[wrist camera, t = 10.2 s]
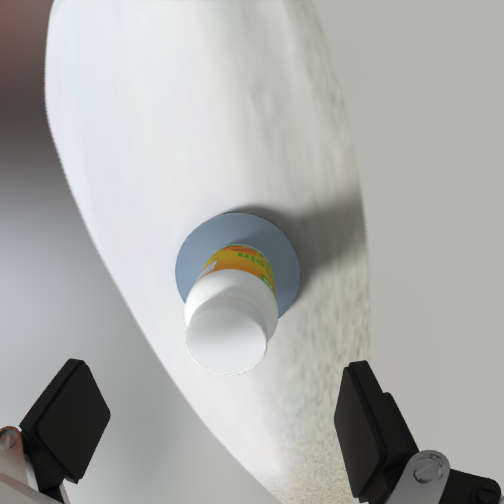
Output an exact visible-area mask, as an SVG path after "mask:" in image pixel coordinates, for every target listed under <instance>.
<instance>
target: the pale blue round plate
mask: <svg viewBox="0 0 504 504" xmlns="http://www.w3.org/2000/svg"><path fill="white" fill-rule="evenodd" d="M231 244H245V245H249V246H252V247H254V248H256V249H257V250H259V251H260V252H261V253H263V254H264V256H265V257H266V258H267V259H268V261H269V263H270V265H271V268H272V271H273V277H274V284H275V292H276V299H277V305H278V319H279V318H280V317H281V316H282V315H283V314H284V313H285V312H286V311H287V310H288V309H289V307H290V306H291V305H292V303H293V301H294V299H295V297H296V295H297V292H298V289H299V284H300V265H299V260H298V257H297V254H296V252H295V250H294V248H293V246H292V244H291V242H290V241H289V239H288V238H287V236H286V235H285V234H284V233H283V232H282V231H281V230H280V229H279V228H278V227H277V226H275V225H274V224H273V223H271V222H269V221H268V220H266V219H263V218H261V217H259V216H255V215H252V214H246V213H228V214H223V215H219V216H216V217H213V218H211V219H209V220H207V221H205V222H204V223H202V224H201V225H200V226H198V227H197V228H196V229H195V230H194V231H193V232H192V233H191V234H190V235H189V236H188V237H187V239H186V240H185V241H184V243H183V245H182V247H181V249H180V251H179V254H178V256H177V261H176V269H175V275H176V283H177V287H178V290H179V293H180V295H181V297H182V299H183V301H184V303H185V304H186V300H187V297H188V295H189V293H190V291H191V289H192V287H193V285H194V284H195V282H196V280H197V278H198V277H199V275H200V273H201V271H202V270H203V268H204V266H205V264H206V263H207V261H208V260H209V258H210V257H211V256H212V255H213V254H214V253H215V252H216V251H217V250H219V249H220V248H222V247H224V246H227V245H231Z"/></svg>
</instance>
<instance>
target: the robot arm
mask: <svg viewBox="0 0 504 504" xmlns="http://www.w3.org/2000/svg"><path fill="white" fill-rule="evenodd" d="M109 420H110V410H109V408H108V407H107V404H106V403H105V401H104V399H103V397H102V395H101V393H100V390H99V388H98V386H97V384H96V382H95V380H94V378H93V376H92V373H91V371H90V369H89V367H88V365H86V363H85V362H84V361H83V360H78V359H72V358H71V359H69V360H68V361H67V362H66V363H65V365H64V366H63V367H62V368H61V370H60V371H59V372H58V373H57V375H56V376H55V377H54V379H53V380H52V381H51V382H50V384H49V385H48V386H47V388H46V389H45V390H44V391H43V393H42V394H41V395H40V397H39V398H38V400H37V401H36V402H35V404H34V405H33V406H32V408H31V409H30V410H29V412H28V413H27V415H26V416H25V417H24V419H23V420H22V422H21V423H20V425H19V427H20V428H21V429H22V431H21V432H20V431H19V430H18V429H17V428H15V427H12V426H6V427H3V428H1V429H0V504H70V502H69V499H68V496H67V493H66V490H65V487H64V484H63V480H64V478H65V479H66V480H67V481H70V482H72V483H75V484H77V483H78V481H79V479H82V478H83V476H84V474H85V471H86V469H87V467H88V465H89V462H90V460H91V458H92V455H93V454H94V451H95V449H96V447H97V445H98V443H99V441H100V438H101V436H102V434H103V432H104V430H105V428H106V426H107V424H108V422H109ZM334 424H335V428H336V432H337V436H338V439H339V443H340V447H341V451H342V455H343V459H344V463H345V466H346V470H347V474H348V479H349V483H350V487H351V491H352V495H353V497H354V498H359V502H360V503H363V502H368V503H369V504H504V496H503V495H501V489H500V486H499V484H498V483H497V482H496V481H495V480H492V479H489V478H485V477H480V476H476V475H472V474H468V473H464V472H461V471H457V470H453V469H450V464H449V461H448V459H447V458H446V456H444V455H443V454H442V453H440V452H438V451H435V450H425V451H421V452H419V449H418V447H417V445H416V443H415V441H414V439H413V437H412V435H411V433H410V430H409V429H408V426H407V424H406V422H405V420H404V418H403V417H402V414H401V412H400V411H399V408H398V407H397V404H396V403H395V400H394V398H393V397H392V395H391V394H390V393H388V392H386V393H383V392H382V389H381V387H380V386H379V384H378V381H377V379H376V377H375V375H374V373H373V371H372V370H371V368H370V366H369V364H368V362H367V361H366V360H364V361H357V362H351V363H349V366H348V367H345V368H344V370H343V376H342V381H341V386H340V391H339V396H338V401H337V406H336V410H335V415H334Z"/></svg>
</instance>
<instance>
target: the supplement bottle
mask: <svg viewBox="0 0 504 504" xmlns="http://www.w3.org/2000/svg"><path fill="white" fill-rule="evenodd" d="M185 321H186V325H187V330H186V336H185V342H186V347H187V350H188V352H189V354H190V355H191V357H192V358H193V360H194V361H195V362H196V363H197V364H198V365H200V366H201V367H203V368H204V369H206V370H208V371H210V372H212V373H215V374H219V375H239V374H242V373H246V372H248V371H250V370H252V369H253V368H255V367H256V366H257V365H258V364H259V363H260V362H261V361H262V359H263V358H264V356H265V354H266V351H267V343H268V341H269V340H270V339H271V337H272V336H273V334H274V332H275V329H276V327H277V323H278V305H277V299H276V292H275V284H274V277H273V271H272V268H271V265H270V263H269V261H268V259H267V258H266V257H265V256H264V254H263V253H261V252H260V251H259V250H257V249H256V248H254V247H252V246H249V245H245V244H231V245H227V246H224V247H222V248H220V249H219V250H217V251H216V252H215V253H214V254H213V255H212V256H211V257H210V258H209V260H208V261H207V263H206V264H205V266H204V268H203V270H202V271H201V273H200V275H199V277H198V278H197V280H196V282H195V284H194V285H193V287H192V289H191V291H190V293H189V295H188V297H187V300H186V304H185Z"/></svg>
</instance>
